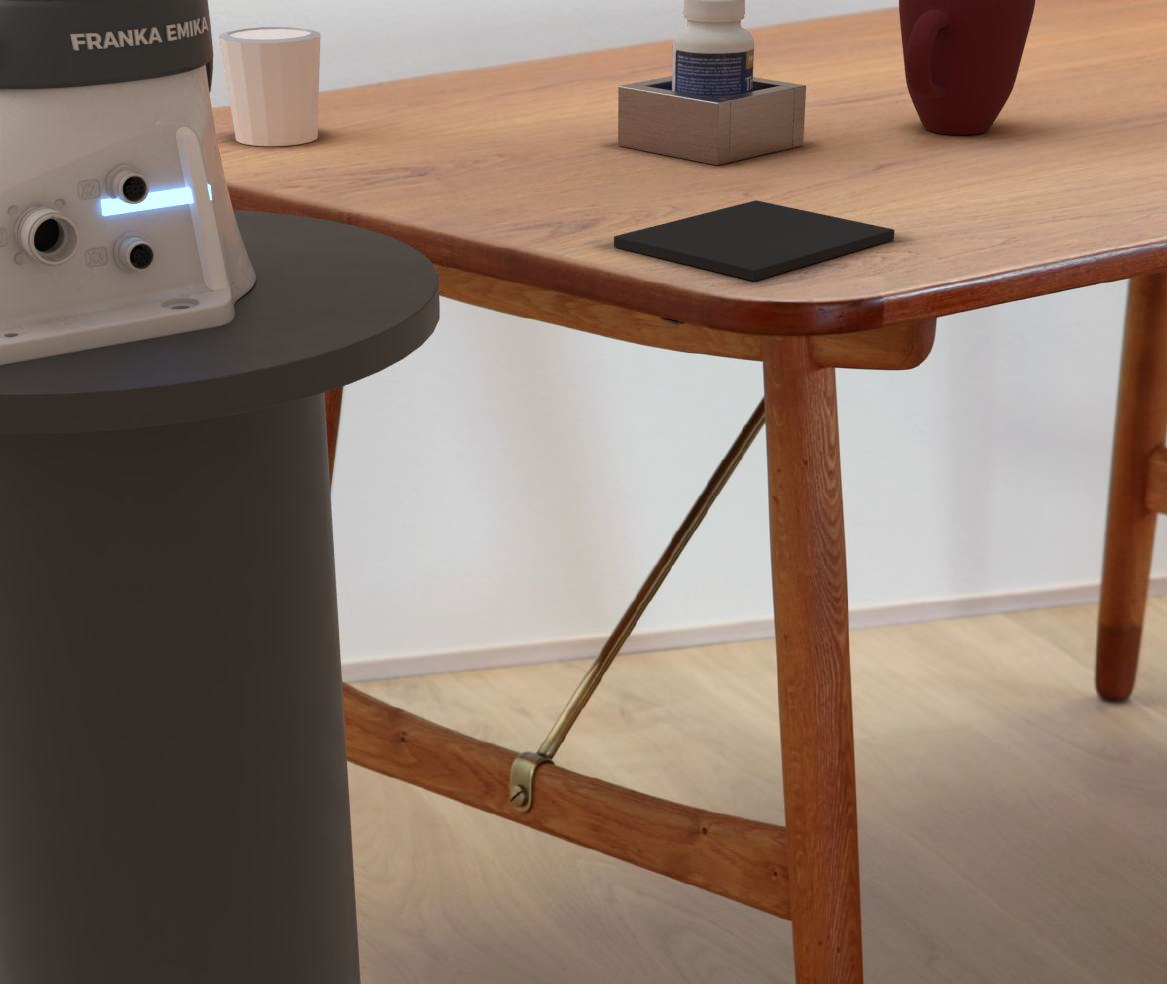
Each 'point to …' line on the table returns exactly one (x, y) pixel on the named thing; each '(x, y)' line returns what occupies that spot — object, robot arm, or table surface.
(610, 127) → the table surface
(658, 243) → the mat
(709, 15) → the pill bottle
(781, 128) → the box
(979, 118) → the mug
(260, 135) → the beige cup
